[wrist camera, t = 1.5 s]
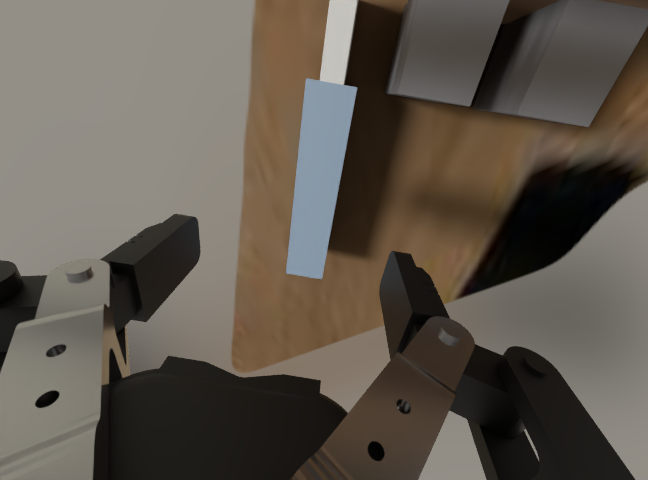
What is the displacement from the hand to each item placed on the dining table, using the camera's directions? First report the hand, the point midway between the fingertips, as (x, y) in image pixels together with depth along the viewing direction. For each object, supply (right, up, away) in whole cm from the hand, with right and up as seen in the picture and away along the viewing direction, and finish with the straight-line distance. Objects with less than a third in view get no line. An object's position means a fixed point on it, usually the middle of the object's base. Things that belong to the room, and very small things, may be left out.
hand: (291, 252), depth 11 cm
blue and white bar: (+2, +8, +11) cm, 14 cm away
